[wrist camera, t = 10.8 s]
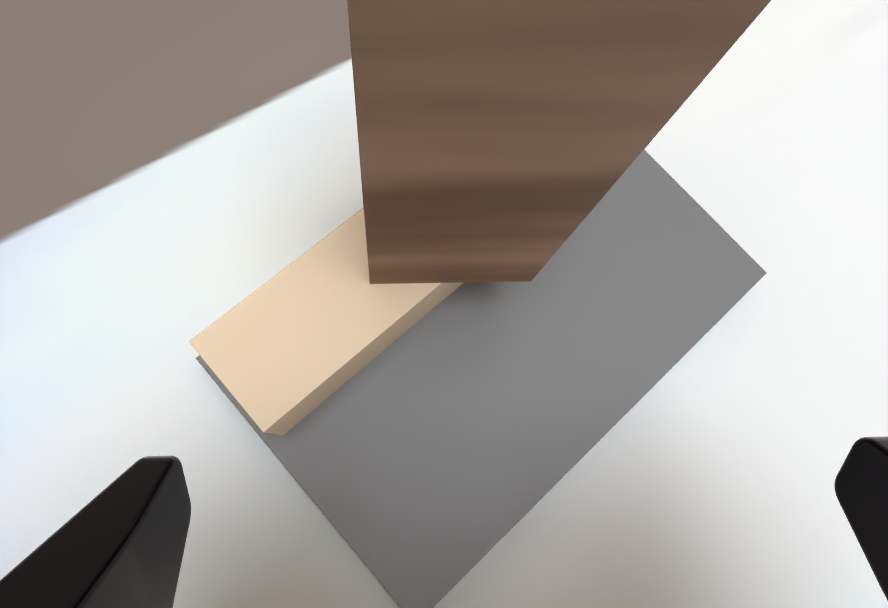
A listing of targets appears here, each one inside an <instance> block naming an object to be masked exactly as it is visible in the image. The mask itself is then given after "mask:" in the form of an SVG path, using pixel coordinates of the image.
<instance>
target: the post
mask: <svg viewBox="0 0 888 608" xmlns="http://www.w3.org/2000/svg"><path fill="white" fill-rule="evenodd" d="M770 1H771V0H347V2H348V15H349V28H350V41H351V52H352V66H353V79H354V91H355V104H356V116H357V129H358V142H359V154H360V167H361V180H362V192H363V205H364V217H365V230H366V243H367V255H368V268H369V281H370V284H405V283H466V282H528V281H532V280H533V279H534V278H535V276H536V275H537V274H538V273H539V272H540V271H541V269H542V268H543V267H544V266H545V265H546V264H547V262H548V261H549V260H550V259H551V258H552V256H553V255H554V254H555V253H556V252H557V251H558V249H559V248H560V247H561V246H562V245H563V244H564V242H565V241H566V240H567V239H568V238H569V237H570V235H571V234H572V233H573V232H574V231H575V230H576V228H577V227H578V226H579V225H580V224H581V222H582V221H583V220H584V219H585V218H586V217H587V215H588V214H589V213H590V212H591V211H592V210H593V208H594V207H595V206H596V205H597V204H598V203H599V201H600V200H601V199H602V198H603V197H604V196H605V194H606V193H607V192H608V191H609V190H610V188H611V187H612V186H613V185H614V184H615V183H616V181H617V180H618V179H619V178H620V177H621V176H622V174H623V173H624V172H625V171H626V170H627V169H628V167H629V166H630V165H631V164H632V163H633V162H634V160H635V159H636V158H637V157H638V156H639V154H640V153H641V152H642V151H643V150H644V149H645V147H646V146H647V145H648V144H649V143H650V142H651V140H652V139H653V138H654V137H655V136H656V135H657V133H658V132H659V131H660V130H661V129H662V128H663V126H664V125H665V124H666V123H667V122H668V120H669V119H670V118H671V117H672V116H673V115H674V113H675V112H676V111H677V110H678V109H679V108H680V106H681V105H682V104H683V103H684V102H685V101H686V99H687V98H688V97H689V96H690V95H691V94H692V92H693V91H694V90H695V89H696V88H697V86H698V85H699V84H700V83H701V82H702V81H703V79H704V78H705V77H706V76H707V75H708V74H709V72H710V71H711V70H712V69H713V68H714V67H715V65H716V64H717V63H718V62H719V61H720V60H721V58H722V57H723V56H724V55H725V54H726V52H727V51H728V50H729V49H730V48H731V47H732V45H733V44H734V43H735V42H736V41H737V40H738V38H739V37H740V36H741V35H742V34H743V33H744V31H745V30H746V29H747V28H748V27H749V26H750V24H751V23H752V22H753V21H754V20H755V18H756V17H757V16H758V15H759V14H760V13H761V11H762V10H763V9H764V8H765V7H766V6H767V4H768V3H769V2H770Z"/></svg>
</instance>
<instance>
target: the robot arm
mask: <svg viewBox="0 0 888 608" xmlns="http://www.w3.org/2000/svg"><path fill="white" fill-rule="evenodd" d="M835 492H836V496H837V498H838V501H839V503H840V505H841V507H842V509H843V511H844V513H845V515H846V517H847V519H848V521H849V523H850V525H851V527H852V529H853V531H854V533H855V535H856V538H857V540H858V542H859V544H860V546H861V548H862V550H863V552H864V554H865V556H866V558H867V560H868V562H869V564H870V566H871V568H872V570H873V572H874V574H875V577H876V579H877V581H878V583H879V585H880V587H881V589H882V591H883V593H884V594H885V596H886V598H887V600H888V437H864V438H860V439H859V440H857V441H856V442H855V443H854V445H853V446H852V448H851V450H850V452H849V454H848V456H847V458H846V459H845V461H844V463H843V465H842V467H841V469H840V471H839V473H838V474H837V476H836V479H835ZM190 516H191V503H190V498H189V494H188V489H187V485H186V481H185V477H184V473H183V469H182V465H181V462H180V460H179V459H178V458H177V457H175V456H148V457H143V458H141V459H140V460H138V461H137V462H135V463H134V464H133V465H132V466H131V467H130V468H129V469H127V470H126V471H125V472H124V473H123V474H122V475H120V476H119V477H118V478H117V479H116V480H115V481H114V482H112V483H111V484H110V485H109V486H108V487H107V488H106V489H104V490H103V491H102V492H101V493H100V494H99V495H98V496H96V497H95V498H94V499H93V500H92V501H91V502H90V503H88V504H87V505H86V506H85V507H84V508H83V509H82V510H80V511H79V512H78V513H77V514H76V515H75V516H73V517H72V518H71V519H70V520H69V521H68V522H67V523H65V524H64V525H63V526H62V527H61V528H60V529H59V530H57V531H56V532H55V533H54V534H53V535H52V536H51V537H49V538H48V539H47V540H46V541H45V542H44V543H43V544H41V545H40V546H39V547H38V548H37V549H36V550H35V551H33V552H32V553H31V554H30V555H29V556H28V557H26V558H25V559H24V560H23V561H22V562H21V563H20V564H18V565H17V566H16V567H15V568H14V569H13V570H12V571H10V572H9V573H8V574H7V575H6V576H5V577H4V578H2V579H1V580H0V608H172V607H173V602H174V597H175V592H176V587H177V582H178V577H179V572H180V567H181V562H182V557H183V553H184V548H185V543H186V538H187V533H188V528H189V523H190Z"/></svg>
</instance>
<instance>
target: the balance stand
mask: <svg viewBox="0 0 888 608" xmlns="http://www.w3.org/2000/svg"><path fill="white" fill-rule="evenodd" d="M765 274H766V272H765V271H764V270H763V269H762V268H761V267H760V266H759V265H758V264H757V263H756V262H755V261H754V260H753V259H752V258H751V257H750V256H749V255H748V254H747V253H746V252H745V251H744V250H743V249H742V248H741V247H740V246H739V245H738V244H737V243H736V242H735V241H734V240H733V239H732V238H731V237H730V236H729V235H728V234H727V233H726V232H725V231H724V230H723V228H722V227H721V226H720V225H719V224H718V223H717V222H716V221H715V220H714V219H713V218H712V217H711V216H710V215H709V214H708V213H707V212H706V211H705V210H704V209H703V208H702V207H701V206H700V205H699V204H698V203H697V202H696V201H695V200H694V199H693V198H692V197H691V196H690V195H689V194H688V193H687V192H686V191H685V190H684V189H683V188H682V187H681V186H680V185H679V184H678V183H677V182H676V181H675V180H674V179H673V178H672V177H671V176H670V175H669V174H668V173H667V172H666V171H665V170H664V169H663V168H662V167H661V166H660V165H659V164H658V163H657V162H656V161H655V160H654V159H653V158H652V157H651V156H650V155H649V154H648V153H647V152H646V151H645V150H643V151H642V152H641V153H640V154H639V156H638V157H637V158H636V159H635V160H634V162H633V163H632V164H631V165H630V166H629V167H628V169H627V170H626V171H625V172H624V173H623V174H622V176H621V177H620V178H619V179H618V180H617V181H616V183H615V184H614V185H613V186H612V187H611V188H610V190H609V191H608V192H607V193H606V194H605V196H604V197H603V198H602V199H601V200H600V201H599V203H598V204H597V205H596V206H595V207H594V208H593V210H592V211H591V212H590V213H589V214H588V215H587V217H586V218H585V219H584V220H583V221H582V222H581V224H580V225H579V226H578V227H577V228H576V230H575V231H574V232H573V233H572V234H571V235H570V237H569V238H568V239H567V240H566V241H565V242H564V244H563V245H562V246H561V247H560V248H559V249H558V251H557V252H556V253H555V254H554V255H553V256H552V258H551V259H550V260H549V261H548V262H547V264H546V265H545V266H544V267H543V268H542V269H541V271H540V272H539V273H538V274H537V275H536V276H535V278H534V279H533V280H532V281H528V282H466V283H405V284H370V281H369V268H368V255H367V243H366V230H365V217H364V208H363V209H361V210H360V211H359V212H357V213H356V214H355V215H353V216H352V217H351V218H350V219H348V220H347V221H346V222H344V223H343V224H342V225H340V226H339V227H338V228H337V229H335V230H334V231H333V232H331V233H330V234H329V235H327V236H326V237H325V238H324V239H322V240H321V241H320V242H318V243H317V244H316V245H314V246H313V247H312V248H310V249H309V250H308V251H307V252H305V253H304V254H303V255H301V256H300V257H299V258H297V259H296V260H295V261H294V262H292V263H291V264H290V265H288V266H287V267H286V268H284V269H283V270H282V271H281V272H279V273H278V274H277V275H275V276H274V277H273V278H271V279H270V280H269V281H267V282H266V283H265V284H264V285H262V286H261V287H260V288H258V289H257V290H256V291H254V292H253V293H252V294H251V295H249V296H248V297H247V298H245V299H244V300H243V301H241V302H240V303H239V304H238V305H236V306H235V307H234V308H232V309H231V310H230V311H228V312H227V313H226V314H224V315H223V316H222V317H221V318H219V319H218V320H217V321H215V322H214V323H213V324H211V325H210V326H209V327H208V328H206V329H205V330H204V331H202V332H201V333H200V334H198V335H197V336H196V337H195V338H193V339H192V340H191V341H189V343H190V344H191V345H192V346H193V348H194V349H195V350H196V351H197V352H198V354H199V356H198V357H197V358H196V359H197V360H198V362H199V363H200V364H201V365H202V366H203V368H204V369H205V370H206V371H207V373H208V374H209V375H210V376H211V377H212V379H213V380H214V381H215V382H216V384H217V385H218V386H219V387H220V388H221V390H222V391H223V392H224V393H225V394H226V396H227V397H228V398H229V399H230V401H231V402H232V403H233V404H234V405H235V407H236V408H237V409H238V410H239V411H240V413H241V414H242V415H243V416H244V418H245V419H246V420H247V421H248V422H249V424H250V425H251V426H252V427H253V429H254V430H255V431H256V432H257V433H258V435H259V436H260V437H261V438H262V439H263V441H264V442H265V443H266V444H267V446H268V447H269V448H270V449H271V450H272V452H273V453H274V454H275V455H276V456H277V458H278V459H279V460H280V461H281V463H282V464H283V465H284V466H285V467H286V469H287V470H288V471H289V472H290V474H291V475H292V476H293V477H294V478H295V480H296V481H297V482H298V483H299V484H300V486H301V487H302V488H303V489H304V491H305V492H306V493H307V494H308V495H309V497H310V498H311V499H312V500H313V502H314V503H315V504H316V505H317V506H318V508H319V509H320V510H321V511H322V512H323V514H324V515H325V516H326V517H327V519H328V520H329V521H330V522H331V523H332V525H333V526H334V527H335V528H336V529H337V531H338V532H339V533H340V534H341V536H342V537H343V538H344V539H345V540H346V542H347V543H348V544H349V545H350V547H351V548H352V549H353V550H354V551H355V553H356V554H357V555H358V556H359V557H360V559H361V560H362V561H363V562H364V564H365V565H366V566H367V567H368V568H369V570H370V571H371V572H372V573H373V574H374V576H375V577H376V578H377V579H378V581H379V582H380V583H381V584H382V585H383V587H384V588H385V589H386V590H387V592H388V593H389V594H390V595H391V596H392V598H393V599H394V600H395V601H396V602H397V604H398V605H399V606H400V607H401V608H433V607H434V606H435V605H436V604H437V603H438V602H439V601H440V600H441V599H442V598H443V597H444V596H445V595H446V594H447V593H448V592H449V591H450V590H451V589H452V588H453V587H454V586H455V585H456V584H457V583H458V582H459V581H460V580H461V579H462V578H463V577H464V576H465V575H466V574H467V573H468V572H469V571H470V570H471V569H472V568H473V567H474V566H475V565H476V564H477V563H478V562H479V561H480V560H481V559H482V558H483V557H484V556H485V555H486V554H487V553H488V552H489V551H490V550H491V549H492V548H493V547H494V545H495V544H496V543H497V542H498V541H499V540H500V539H501V538H502V537H503V536H504V535H505V534H506V533H507V532H508V531H509V530H510V529H511V528H512V527H513V526H514V525H515V524H516V523H517V522H518V521H519V520H520V519H521V518H522V517H523V516H524V515H525V514H526V513H527V512H528V511H529V510H530V509H531V508H532V507H533V506H534V505H535V504H536V503H537V502H538V501H539V500H540V499H541V498H542V497H543V496H544V495H545V494H546V493H547V492H548V491H549V490H550V489H551V488H552V487H553V486H554V485H555V484H556V483H557V482H558V481H559V480H560V479H561V478H562V477H563V476H564V475H565V474H566V473H567V472H568V471H569V470H570V469H571V468H572V467H573V466H574V465H575V464H576V463H577V462H578V461H579V460H580V459H581V458H582V457H583V456H584V455H585V454H586V453H587V452H588V451H589V450H590V449H591V448H592V447H593V446H594V445H595V444H596V443H597V442H598V441H599V440H600V439H601V438H602V437H603V436H604V435H605V434H606V433H607V432H608V431H609V430H610V429H611V428H612V427H613V426H614V425H615V424H616V423H617V422H618V421H619V420H620V419H621V418H622V417H623V416H624V415H625V414H626V413H627V412H628V411H629V410H630V409H631V408H632V407H633V406H634V405H635V404H636V403H637V402H638V401H639V400H640V399H641V398H642V397H643V396H644V395H645V394H646V393H647V392H648V391H649V390H650V389H651V388H652V387H653V386H654V385H655V384H656V383H657V382H658V381H659V380H660V379H661V378H662V377H663V376H664V375H665V374H666V373H667V372H668V371H669V370H670V369H671V368H672V367H673V366H674V365H675V364H676V363H677V362H678V361H679V360H680V359H681V358H682V357H683V356H684V355H685V354H686V353H687V352H688V351H689V350H690V349H691V348H692V347H693V346H694V345H695V344H696V343H697V342H698V341H699V340H700V339H701V338H702V337H703V336H704V335H705V334H706V333H707V332H708V331H709V330H710V329H711V328H712V327H713V326H714V325H715V324H716V323H717V322H718V321H719V320H720V319H721V318H722V317H723V316H724V315H725V314H726V313H727V312H728V311H729V310H730V309H731V308H732V307H733V306H734V305H735V304H736V303H737V302H738V301H739V300H740V299H741V298H742V297H743V296H744V295H745V294H746V293H747V292H748V291H749V290H750V289H751V288H752V287H753V286H754V285H755V284H756V283H757V282H758V281H759V280H760V279H761V278H762V277H763V276H764V275H765Z"/></svg>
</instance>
